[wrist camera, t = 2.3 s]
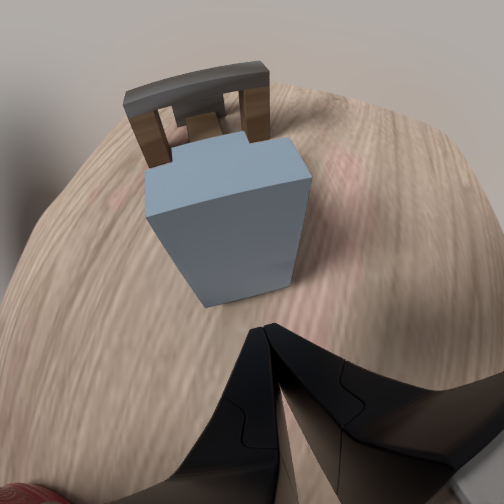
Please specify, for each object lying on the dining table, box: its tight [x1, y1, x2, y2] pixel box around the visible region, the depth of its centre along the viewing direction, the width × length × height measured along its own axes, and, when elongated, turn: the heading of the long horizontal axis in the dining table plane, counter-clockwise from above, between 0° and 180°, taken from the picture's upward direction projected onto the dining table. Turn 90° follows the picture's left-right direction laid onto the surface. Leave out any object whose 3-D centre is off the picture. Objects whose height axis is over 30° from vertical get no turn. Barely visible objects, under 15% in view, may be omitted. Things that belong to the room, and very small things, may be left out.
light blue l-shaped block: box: [145, 131, 312, 308], centre depth 14 cm, size 10×5×9 cm, turn 15°
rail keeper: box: [123, 61, 270, 168], centre depth 18 cm, size 18×11×7 cm, turn 15°
